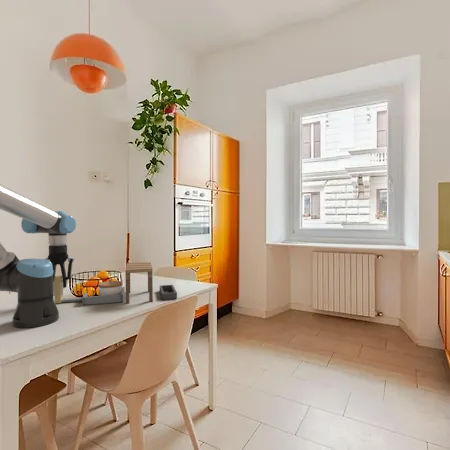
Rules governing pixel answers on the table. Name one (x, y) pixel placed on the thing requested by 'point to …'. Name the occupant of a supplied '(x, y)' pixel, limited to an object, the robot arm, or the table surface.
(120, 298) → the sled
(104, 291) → the lidded jar
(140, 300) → the table surface
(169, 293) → the box
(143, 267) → the tunnel
